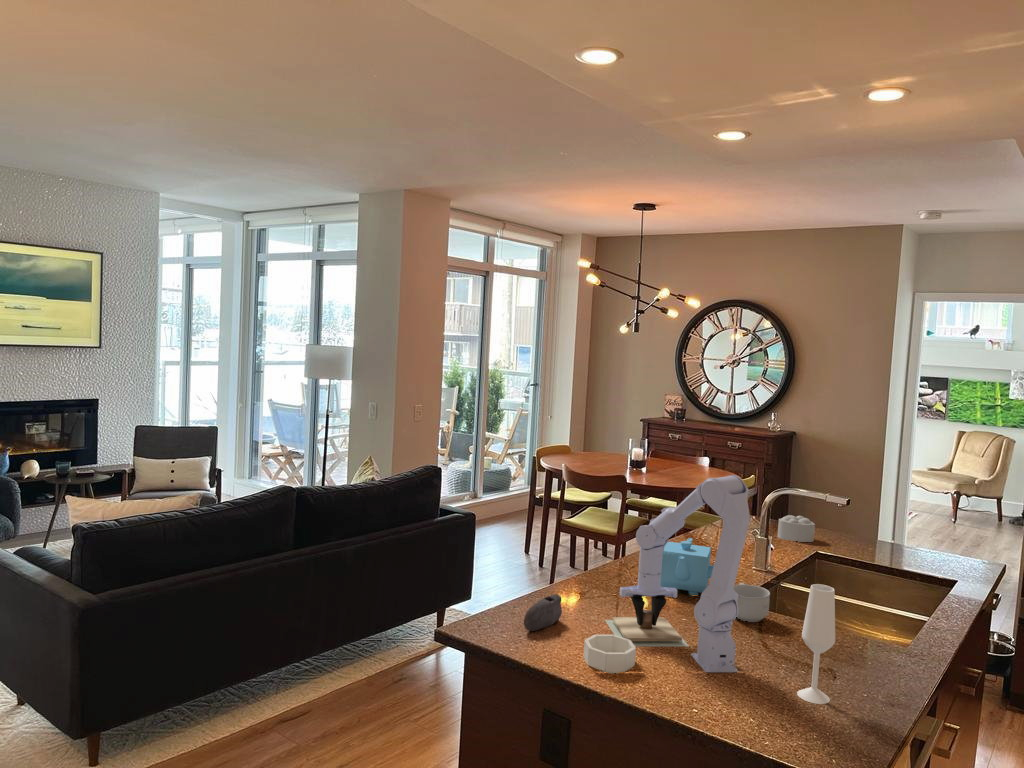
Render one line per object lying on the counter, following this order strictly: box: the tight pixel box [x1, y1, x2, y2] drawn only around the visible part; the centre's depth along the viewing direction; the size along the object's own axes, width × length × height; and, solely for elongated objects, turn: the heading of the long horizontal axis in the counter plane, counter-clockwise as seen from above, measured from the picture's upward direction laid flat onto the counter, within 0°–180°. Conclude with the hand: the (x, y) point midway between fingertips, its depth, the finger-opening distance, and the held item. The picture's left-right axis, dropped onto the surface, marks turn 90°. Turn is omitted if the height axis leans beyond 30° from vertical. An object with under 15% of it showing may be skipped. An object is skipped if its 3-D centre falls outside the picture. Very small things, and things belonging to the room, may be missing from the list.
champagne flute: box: [796, 583, 836, 705], centre depth 168 cm, size 7×7×24 cm
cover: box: [611, 609, 683, 641], centre depth 198 cm, size 14×14×5 cm
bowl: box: [583, 634, 637, 674], centre depth 180 cm, size 11×11×4 cm
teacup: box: [734, 582, 771, 623], centre depth 215 cm, size 14×11×8 cm
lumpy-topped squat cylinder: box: [777, 514, 816, 543], centre depth 305 cm, size 10×13×9 cm
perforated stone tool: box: [523, 593, 563, 632], centre depth 200 cm, size 15×5×7 cm, turn 141°
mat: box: [604, 619, 690, 648], centre depth 198 cm, size 17×17×1 cm
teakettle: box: [660, 537, 714, 596], centre depth 235 cm, size 19×19×15 cm
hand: (646, 624), depth 198 cm, fingers closed on cover, 3 cm apart
